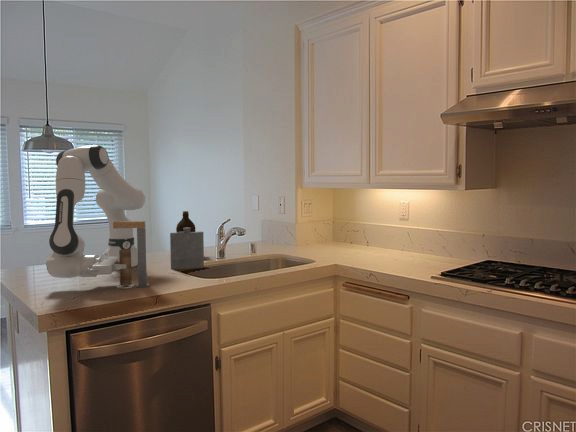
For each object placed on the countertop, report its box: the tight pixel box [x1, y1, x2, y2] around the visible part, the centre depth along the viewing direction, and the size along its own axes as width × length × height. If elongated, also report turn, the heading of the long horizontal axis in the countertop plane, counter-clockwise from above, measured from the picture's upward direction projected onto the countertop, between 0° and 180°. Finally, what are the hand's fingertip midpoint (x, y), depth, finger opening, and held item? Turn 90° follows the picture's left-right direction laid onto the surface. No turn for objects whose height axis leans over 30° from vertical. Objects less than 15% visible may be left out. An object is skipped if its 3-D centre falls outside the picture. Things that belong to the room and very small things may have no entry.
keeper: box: [113, 220, 150, 290], centre depth 189 cm, size 13×7×26 cm, turn 101°
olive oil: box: [175, 210, 196, 233], centre depth 264 cm, size 11×11×25 cm
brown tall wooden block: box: [119, 249, 133, 286], centre depth 189 cm, size 4×4×14 cm
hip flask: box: [169, 227, 205, 270], centre depth 227 cm, size 16×4×20 cm, turn 109°
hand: (127, 264), depth 189 cm, fingers closed on brown tall wooden block, 4 cm apart
